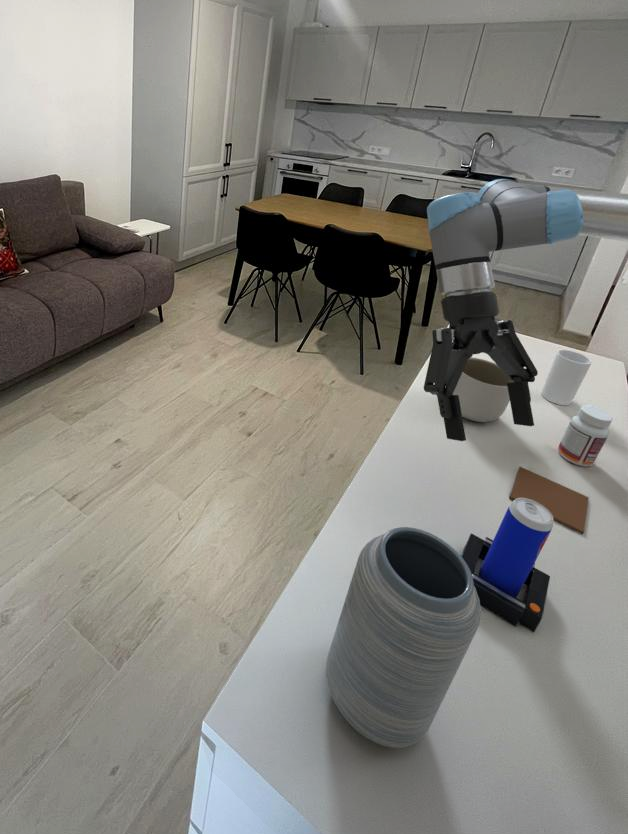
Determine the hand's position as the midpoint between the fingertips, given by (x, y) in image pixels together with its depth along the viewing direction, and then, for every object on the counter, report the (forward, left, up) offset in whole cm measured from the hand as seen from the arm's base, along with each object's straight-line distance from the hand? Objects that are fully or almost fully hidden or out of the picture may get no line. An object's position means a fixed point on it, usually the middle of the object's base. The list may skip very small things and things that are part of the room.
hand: (491, 432), depth 75 cm
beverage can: (-8, +7, -20) cm, 23 cm away
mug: (-8, -65, -20) cm, 69 cm away
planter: (+6, -40, -20) cm, 45 cm away
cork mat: (-11, -21, -20) cm, 31 cm away
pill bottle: (-14, -39, -20) cm, 46 cm away
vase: (0, +35, -20) cm, 40 cm away
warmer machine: (-8, +7, -20) cm, 22 cm away
